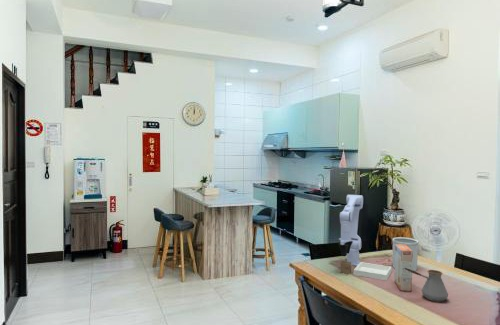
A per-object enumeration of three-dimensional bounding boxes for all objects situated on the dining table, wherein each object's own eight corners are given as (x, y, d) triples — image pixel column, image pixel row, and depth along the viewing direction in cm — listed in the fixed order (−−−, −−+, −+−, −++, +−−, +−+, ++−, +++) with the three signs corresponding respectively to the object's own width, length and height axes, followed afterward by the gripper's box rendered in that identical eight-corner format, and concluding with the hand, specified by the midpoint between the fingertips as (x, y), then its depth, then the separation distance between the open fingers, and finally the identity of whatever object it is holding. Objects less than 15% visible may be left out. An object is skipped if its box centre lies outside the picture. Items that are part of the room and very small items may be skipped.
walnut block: (342, 270, 211) (342, 260, 211) (351, 272, 208) (351, 262, 208) (340, 273, 206) (340, 262, 206) (348, 274, 204) (349, 264, 204)
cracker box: (412, 291, 178) (413, 250, 177) (399, 290, 179) (400, 250, 179) (406, 282, 191) (406, 244, 191) (394, 281, 193) (394, 243, 192)
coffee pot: (439, 293, 176) (439, 263, 175) (453, 303, 164) (454, 271, 164) (397, 294, 174) (397, 264, 174) (409, 303, 163) (409, 271, 163)
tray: (360, 266, 219) (360, 262, 219) (391, 271, 210) (391, 266, 210) (353, 274, 203) (353, 269, 203) (386, 280, 194) (386, 275, 194)
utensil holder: (422, 272, 209) (423, 242, 209) (397, 271, 210) (397, 242, 210) (411, 264, 224) (412, 237, 224) (388, 264, 224) (388, 237, 224)
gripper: (342, 228, 216) (342, 251, 216) (335, 232, 203) (335, 256, 203) (354, 230, 212) (353, 252, 212) (347, 234, 200) (347, 258, 200)
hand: (345, 254), depth 207 cm, fingers open, 7 cm apart
